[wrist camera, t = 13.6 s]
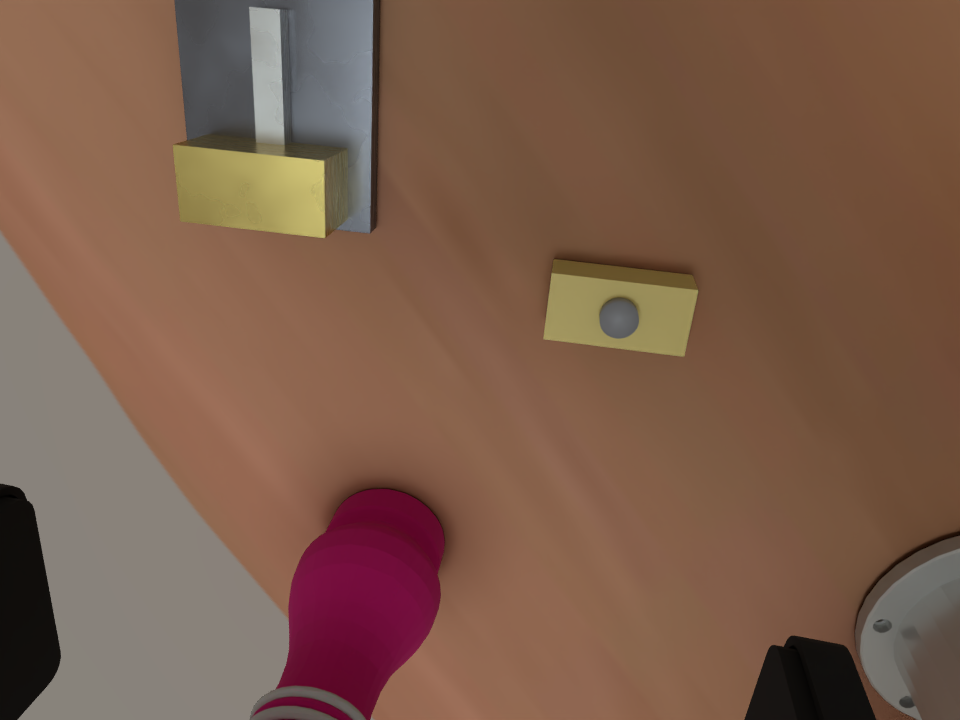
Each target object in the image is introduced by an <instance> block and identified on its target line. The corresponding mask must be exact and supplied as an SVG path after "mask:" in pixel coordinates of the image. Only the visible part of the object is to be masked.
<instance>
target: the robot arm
mask: <svg viewBox="0 0 960 720" xmlns="http://www.w3.org/2000/svg"><path fill="white" fill-rule="evenodd" d="M855 642H856V651H857V654H858V656H859V659H860V662H861V665H862V667H863V670H864V672H865V674H866V676H867V678H868V679H869V681H870V683H871V685H872V686H873V688H874V689H875V690H876V691H877V692H878V693H879V694H880V696H881V697H882V698H883V699H884V700H885V701H887V702H888V703H889V704H890V705H892V706H893V707H894V708H896V709H897V710H899V711H901V712H903V713H905V714H907V715H909V716H911V717H913V718H915V719H917V720H960V536H957V537H953V538H950V539H946V540H943V541H940V542H938V543H936V544H934V545H931V546H929V547H927V548H925V549H922V550H920V551H918V552H916V553H915V554H913V555H912V556H910V557H908V558H907V559H905V560H904V561H902V562H901V563H899V564H897V565H896V566H895V567H894V568H893V569H892V570H891V571H889V572H888V573H887V574H886V575H885V576H884V577H883V578H882V579H880V580H879V582H878V583H877V584H876V586H875V587H874V588H873V589H872V591H871V592H870V593H869V595H868V596H867V597H866V599H865V601H864V604H863V606H862V608H861V610H860V612H859V614H858V619H857V624H856V629H855ZM60 659H61V653H60V646H59V641H58V635H57V630H56V625H55V619H54V614H53V609H52V603H51V597H50V592H49V586H48V581H47V576H46V570H45V565H44V560H43V554H42V549H41V543H40V538H39V532H38V527H37V522H36V516H35V511H34V508H33V505H32V504H31V503H30V502H29V501H27V499H26V497H25V494H24V492H23V491H22V490H21V489H20V488H17V487H14V486H10V485H5V484H0V720H17V719H18V718H19V717H20V716H21V715H22V714H23V713H24V711H25V710H26V709H27V708H28V707H29V706H30V705H31V704H32V702H33V701H34V700H35V699H36V698H37V697H38V696H39V695H40V693H41V692H42V691H43V690H44V689H45V688H46V687H47V685H48V684H49V683H50V682H51V680H52V679H53V678H54V676H55V674H56V672H57V670H58V667H59V664H60ZM745 720H876V718H875V715H874V713H873V710H872V708H871V705H870V703H869V700H868V697H867V695H866V692H865V690H864V687H863V684H862V682H861V679H860V677H859V674H858V671H857V669H856V666H855V664H854V661H853V659H852V656H851V654H850V652H849V650H848V649H847V648H846V647H845V646H844V645H841V644H835V643H830V642H825V641H820V640H814V639H809V638H804V637H799V636H790V637H789V638H788V639H787V641H786V643H785V645H784V647H782V646H776V645H772V646H771V647H770V648H769V650H768V652H767V655H766V657H765V660H764V663H763V666H762V669H761V672H760V675H759V678H758V681H757V684H756V687H755V690H754V693H753V696H752V699H751V702H750V705H749V708H748V711H747V714H746V717H745Z"/></svg>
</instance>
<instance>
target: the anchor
mask: <svg viewBox="0 0 960 720" xmlns="http://www.w3.org/2000/svg"><path fill="white" fill-rule="evenodd" d="M698 291H699V290H698V288H697V285H696V283H695V280H694V278H693V275H688V274H680V273H671V272H662V271H654V270H645V269H636V268H628V267H619V266H610V265H602V264H593V263H584V262H576V261H567V260H558V259H554V261H553V268H552V275H551V283H550V291H549V298H548V306H547V314H546V322H545V330H544V338H543V339H546V340H554V341H562V342H570V343H578V344H586V345H594V346H602V347H610V348H618V349H626V350H634V351H642V352H650V353H658V354H666V355H674V356H682V357H684V355H685V350H686V345H687V341H688V336H689V332H690V327H691V323H692V318H693V313H694V309H695V304H696V300H697V295H698Z"/></svg>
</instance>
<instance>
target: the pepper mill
mask: <svg viewBox="0 0 960 720" xmlns="http://www.w3.org/2000/svg"><path fill="white" fill-rule="evenodd" d="M444 545H445V540H444V534H443V530H442V527H441V525H440V523H439V521H438V519H437V518H436V516H435V515H434V514H433V513H432V512H431V511H430V509H429V508H428V507H427V506H425V505H424V504H423V503H421V502H420V501H419V500H417V499H415V498H413V497H411V496H410V495H408V494H406V493H403V492H398V491H394V490H390V489H370V490H366V491H362V492H359V493H356V494H354V495H352V496H351V497H349V498H348V499H346V500H345V501H344V502H343V503H342V504H341V505H340V506H339V508H338V509H337V511H336V513H335V515H334V517H333V519H332V520H331V522H330V524H329V526H328V528H327V531H326V532H325V533H324V534H322V535H321V536H319V537H318V538H317V539H316V540H314V541H313V542H312V543H311V544H310V546H309V547H308V548H307V549H306V550H305V552H304V554H303V555H302V557H301V559H300V561H299V564H298V566H297V569H296V572H295V574H294V577H293V580H292V584H291V591H290V598H289V634H290V635H289V653H288V658H287V664H286V666H285V669H284V672H283V674H282V677H281V680H280V682H279V684H278V686H277V688H276V689H275V690H273V691H271V692H269V693H268V694H266V695H264V696H263V697H261V698H260V699H259V700H258V701H257V703H256V704H255V705H254V707H253V709H252V711H251V715H250V720H370V719H371V714H372V712H373V709H374V707H375V705H376V702H377V700H378V697H379V695H380V692H381V691H382V689H383V687H384V686H385V684H386V683H387V681H388V679H389V678H390V676H391V675H392V674H393V673H394V672H395V671H396V670H397V669H398V668H400V667H401V666H402V665H403V664H404V663H405V662H406V661H407V660H408V659H409V658H410V657H411V656H412V655H413V654H414V653H415V652H416V651H417V649H418V648H419V647H420V646H421V644H422V643H423V641H424V640H425V638H426V637H427V635H428V634H429V632H430V630H431V628H432V625H433V623H434V620H435V617H436V615H437V612H438V609H439V604H440V597H441V592H440V582H439V579H438V576H437V574H438V570H439V567H440V563H441V560H442V556H443V553H444Z"/></svg>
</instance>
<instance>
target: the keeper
mask: <svg viewBox="0 0 960 720" xmlns="http://www.w3.org/2000/svg"><path fill="white" fill-rule="evenodd" d="M175 11H176V22H177V33H178V44H179V55H180V66H181V77H182V88H183V99H184V110H185V121H186V132H187V141H183V142H180V143H177V144H173V153H174V163H175V173H176V183H177V193H178V203H179V213H180V221H182V222H191V223H199V224H208V225H216V226H225V227H234V228H242V229H251V230H259V231H268V232H277V233H285V234H294V235H303V236H311V237H320V238H326V237H327V236H328V235H330V234H331V233H332V232H333V231H334V230H345V231H353V232H362V233H371V232H372V231H373V230H374V229H375V228H376V203H377V145H378V88H379V30H380V0H175Z"/></svg>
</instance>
